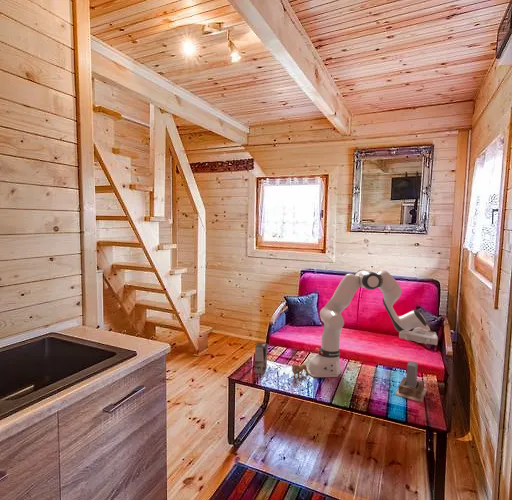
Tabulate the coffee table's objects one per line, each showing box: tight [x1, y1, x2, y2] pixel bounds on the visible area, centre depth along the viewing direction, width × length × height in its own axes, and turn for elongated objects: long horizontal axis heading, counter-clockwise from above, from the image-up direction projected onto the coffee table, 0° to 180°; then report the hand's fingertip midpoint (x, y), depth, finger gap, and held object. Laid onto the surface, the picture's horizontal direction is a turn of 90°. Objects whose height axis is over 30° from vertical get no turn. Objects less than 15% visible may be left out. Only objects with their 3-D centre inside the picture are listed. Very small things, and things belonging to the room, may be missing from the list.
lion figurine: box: [291, 363, 309, 380], centre depth 197 cm, size 15×5×9 cm, turn 141°
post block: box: [394, 376, 428, 403], centre depth 179 cm, size 13×16×5 cm
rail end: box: [406, 360, 418, 389], centre depth 179 cm, size 4×7×15 cm, turn 146°
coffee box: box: [254, 342, 268, 374], centre depth 204 cm, size 9×6×16 cm
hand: (416, 340), depth 186 cm, fingers open, 8 cm apart
